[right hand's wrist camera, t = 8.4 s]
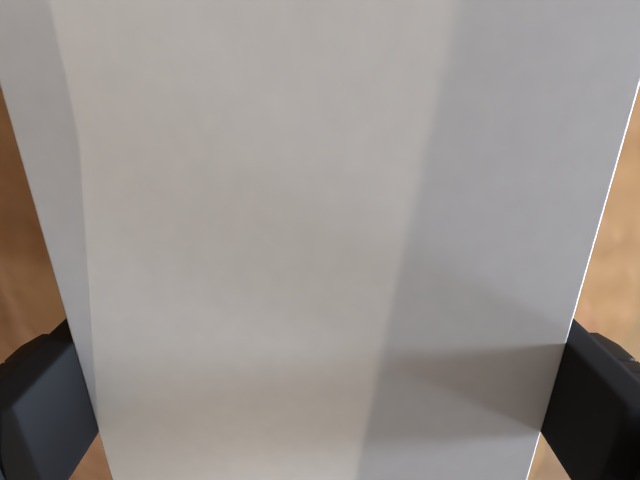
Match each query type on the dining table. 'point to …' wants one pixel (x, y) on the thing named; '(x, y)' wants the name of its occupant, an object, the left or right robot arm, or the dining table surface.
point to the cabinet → (319, 221)
